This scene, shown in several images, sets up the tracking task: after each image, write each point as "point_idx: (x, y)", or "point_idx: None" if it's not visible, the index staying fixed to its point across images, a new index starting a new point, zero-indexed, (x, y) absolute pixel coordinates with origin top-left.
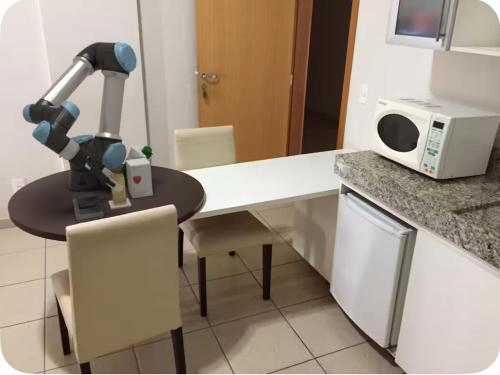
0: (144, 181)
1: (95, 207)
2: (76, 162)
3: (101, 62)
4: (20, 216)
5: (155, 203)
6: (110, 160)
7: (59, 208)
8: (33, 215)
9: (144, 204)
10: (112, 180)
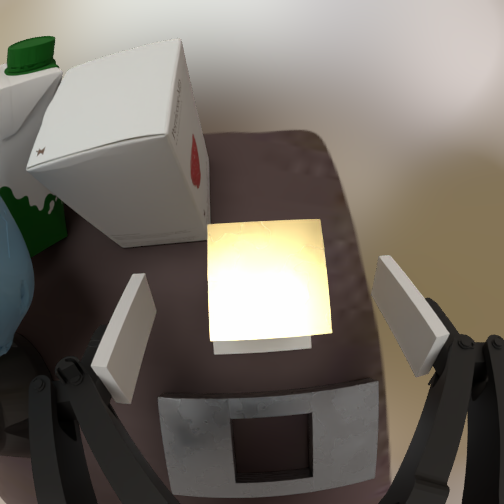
0: (199, 141)
1: (319, 417)
2: None
3: None
4: None
5: (300, 162)
6: (6, 285)
7: None
8: None
9: (298, 201)
10: (434, 317)
